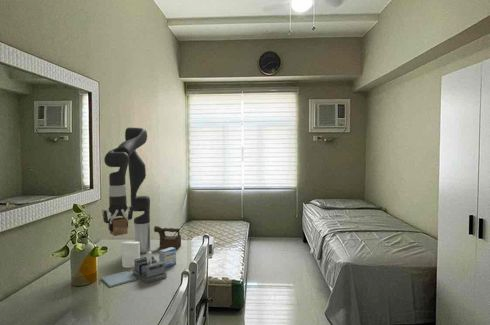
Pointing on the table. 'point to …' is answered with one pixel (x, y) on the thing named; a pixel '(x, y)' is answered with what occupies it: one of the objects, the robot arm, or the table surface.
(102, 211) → the robot arm
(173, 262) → the medicine box
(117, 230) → the walnut collar
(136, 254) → the white tapered container
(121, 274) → the slate mat
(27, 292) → the table surface
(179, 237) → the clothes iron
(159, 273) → the vise
